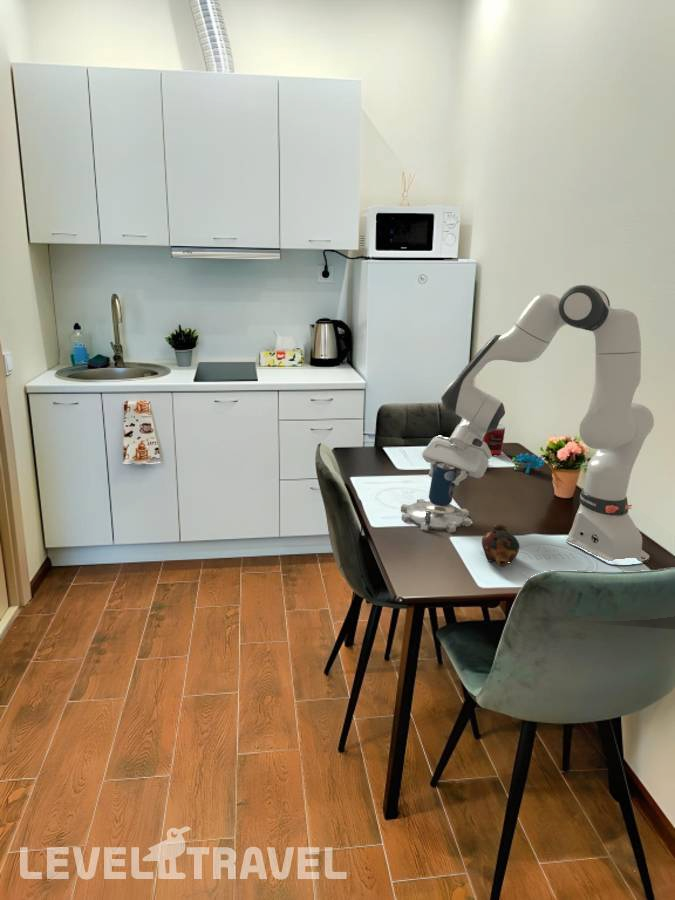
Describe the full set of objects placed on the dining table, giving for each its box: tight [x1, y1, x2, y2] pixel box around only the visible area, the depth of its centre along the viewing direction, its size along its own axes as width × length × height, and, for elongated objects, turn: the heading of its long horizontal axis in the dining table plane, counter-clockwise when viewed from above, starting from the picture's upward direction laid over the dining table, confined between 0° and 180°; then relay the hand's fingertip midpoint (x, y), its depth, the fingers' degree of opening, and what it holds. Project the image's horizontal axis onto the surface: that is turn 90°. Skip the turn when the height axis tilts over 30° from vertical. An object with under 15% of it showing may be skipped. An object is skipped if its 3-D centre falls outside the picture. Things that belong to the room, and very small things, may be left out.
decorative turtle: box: [481, 522, 521, 567], centre depth 176 cm, size 10×15×8 cm, turn 178°
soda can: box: [428, 462, 458, 506], centre depth 202 cm, size 7×7×12 cm
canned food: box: [482, 423, 506, 456], centre depth 262 cm, size 8×8×11 cm
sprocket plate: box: [400, 498, 472, 534], centre depth 200 cm, size 21×21×4 cm
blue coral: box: [511, 452, 545, 475], centre depth 244 cm, size 11×6×10 cm
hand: (442, 480), depth 201 cm, fingers closed on soda can, 7 cm apart
